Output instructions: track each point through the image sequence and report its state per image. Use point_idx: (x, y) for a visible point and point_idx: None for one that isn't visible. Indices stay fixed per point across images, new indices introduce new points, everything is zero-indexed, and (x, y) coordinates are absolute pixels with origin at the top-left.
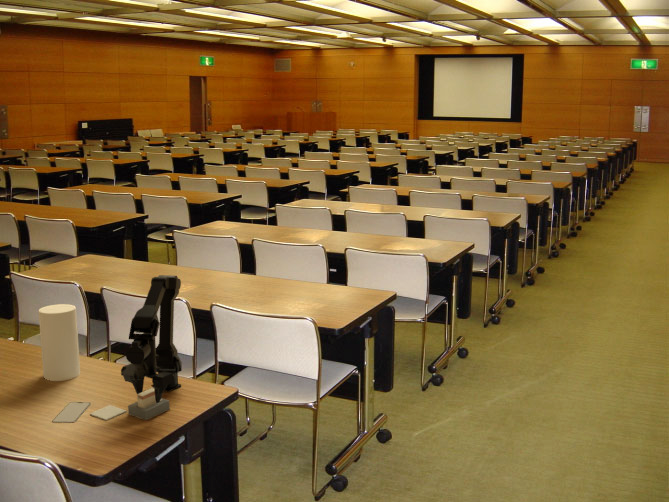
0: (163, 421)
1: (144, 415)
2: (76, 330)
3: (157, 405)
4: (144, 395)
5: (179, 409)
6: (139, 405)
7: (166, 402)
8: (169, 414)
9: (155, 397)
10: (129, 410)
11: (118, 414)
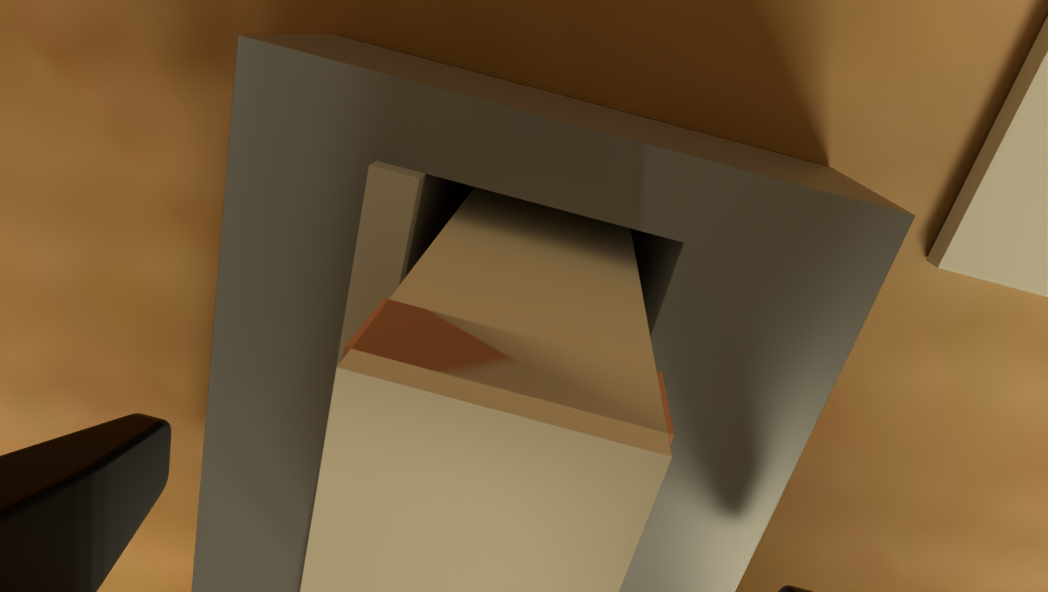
0: (21, 109)
1: (336, 47)
2: None
3: (220, 415)
4: (327, 447)
5: (140, 561)
6: (575, 264)
7: (196, 588)
8: (141, 382)
9: (26, 490)
10: (823, 175)
11: (1042, 48)
